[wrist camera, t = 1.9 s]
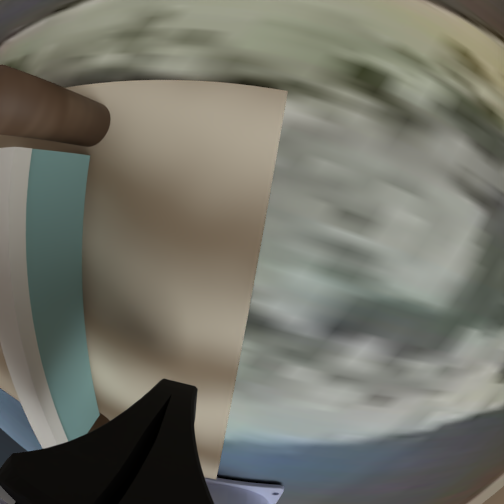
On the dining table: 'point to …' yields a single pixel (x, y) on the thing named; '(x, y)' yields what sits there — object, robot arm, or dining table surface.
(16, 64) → the dining table surface
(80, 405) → the gate
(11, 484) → the robot arm
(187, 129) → the gate frame
